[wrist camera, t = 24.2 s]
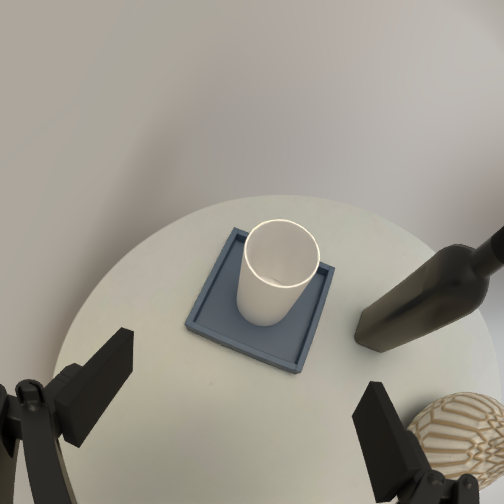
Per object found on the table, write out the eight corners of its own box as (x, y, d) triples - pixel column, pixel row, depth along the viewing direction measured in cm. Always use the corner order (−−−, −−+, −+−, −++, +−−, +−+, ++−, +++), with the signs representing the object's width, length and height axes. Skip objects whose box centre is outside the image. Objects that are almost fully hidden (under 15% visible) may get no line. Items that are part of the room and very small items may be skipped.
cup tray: (186, 329, 38) (184, 324, 36) (233, 236, 46) (234, 226, 43) (295, 374, 37) (301, 372, 34) (329, 275, 44) (335, 267, 42)
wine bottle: (393, 321, 42) (545, 212, 15) (383, 355, 39) (556, 268, 13) (362, 307, 42) (506, 177, 16) (351, 341, 40) (517, 233, 13)
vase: (463, 395, 36) (555, 372, 18) (450, 482, 28) (540, 490, 11) (389, 397, 36) (490, 380, 18) (372, 497, 28) (462, 534, 11)
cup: (262, 337, 38) (283, 304, 26) (225, 297, 40) (227, 247, 28) (300, 302, 41) (334, 255, 28) (264, 266, 43) (282, 207, 31)
